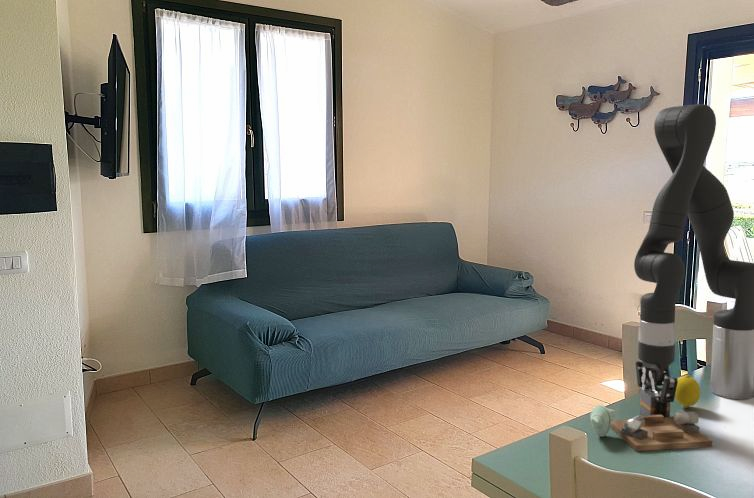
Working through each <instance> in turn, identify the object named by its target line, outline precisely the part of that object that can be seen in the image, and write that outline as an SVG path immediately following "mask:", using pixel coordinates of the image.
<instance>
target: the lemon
mask: <svg viewBox="0 0 754 498" xmlns="http://www.w3.org/2000/svg"><path fill="white" fill-rule="evenodd" d="M677 380H678V383H677V388H676V393H675V397H674V400H676V402H677V403H679V404H680V405H681V406H683V407H684V409H685V408H686V409H687V408H688V409H689V407H693V406H694V405H696V404H697V403H698V401H699V400H700V397H701V388H700V384H699V383H698V381H697V379H695V378H693V377H691V376H690V375H689V374H685V375H682V376H681V377H678V378H677Z"/></svg>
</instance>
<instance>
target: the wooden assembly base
mask: <svg viewBox="0 0 754 498" xmlns="http://www.w3.org/2000/svg"><path fill="white" fill-rule="evenodd" d="M636 416H637V415H635V416H634V417H636ZM640 416H641V417H642V418H643V419H644V420H645V425H644V426H643V427H642V428H640V429H642V430H645V431H648V437H647V438H645V439H643V440H639V439H636V438H634V437H631V436H628V435H625V434H622V427H624V424H625V422H627V421H628V420H630V419H631V418H628V419H613V420H612V423H611V427H610V429H611V430H613V431H614V432H615V433H616V435H618V436H619V437H620V438H621V439H622V440H623V441H624V442H625V443H626V444H627V445H629V447H631V448H632V449H633V450H634V451H636V452H644V451H647V452H648V451H662V450H675V449H676V450H677V449H692V448H693V449H694V448H707V447H713V440H712V439H710V438H709V437H707V435H705V434H703V433H702V432H700V427H699V426H698V425H697V424H698V423H699V415H698V413H697V412H696V411H683V412H682V411H680V412H674V413H673V416H670V417H666V418H664V416H663V415H646V416H642V415H640Z"/></svg>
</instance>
